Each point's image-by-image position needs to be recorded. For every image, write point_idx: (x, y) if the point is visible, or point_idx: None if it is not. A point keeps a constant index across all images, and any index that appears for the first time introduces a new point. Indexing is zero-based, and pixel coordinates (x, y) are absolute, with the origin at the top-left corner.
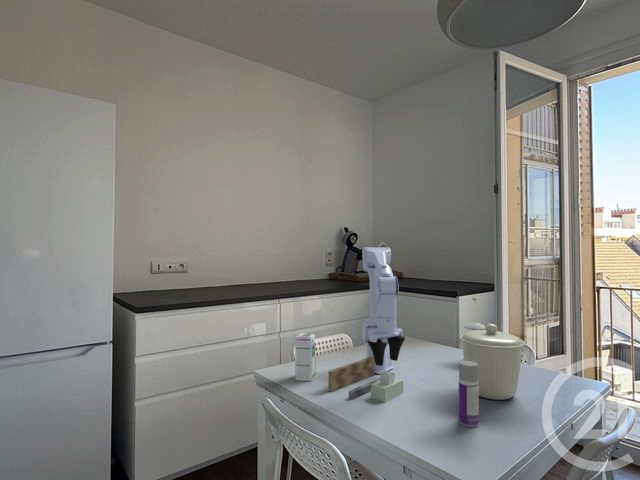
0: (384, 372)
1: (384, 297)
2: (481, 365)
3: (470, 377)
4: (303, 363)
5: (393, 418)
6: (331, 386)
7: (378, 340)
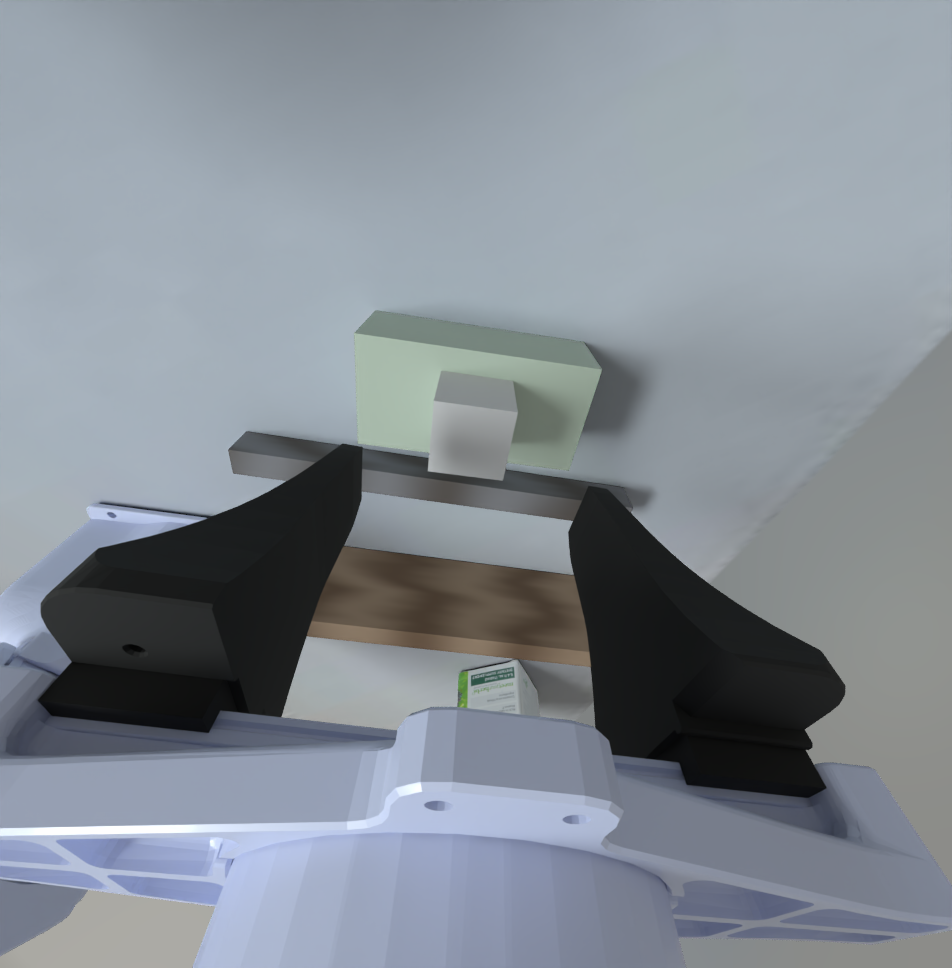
0: (491, 456)
1: None
2: None
3: None
4: None
5: (817, 186)
6: None
7: (778, 773)
